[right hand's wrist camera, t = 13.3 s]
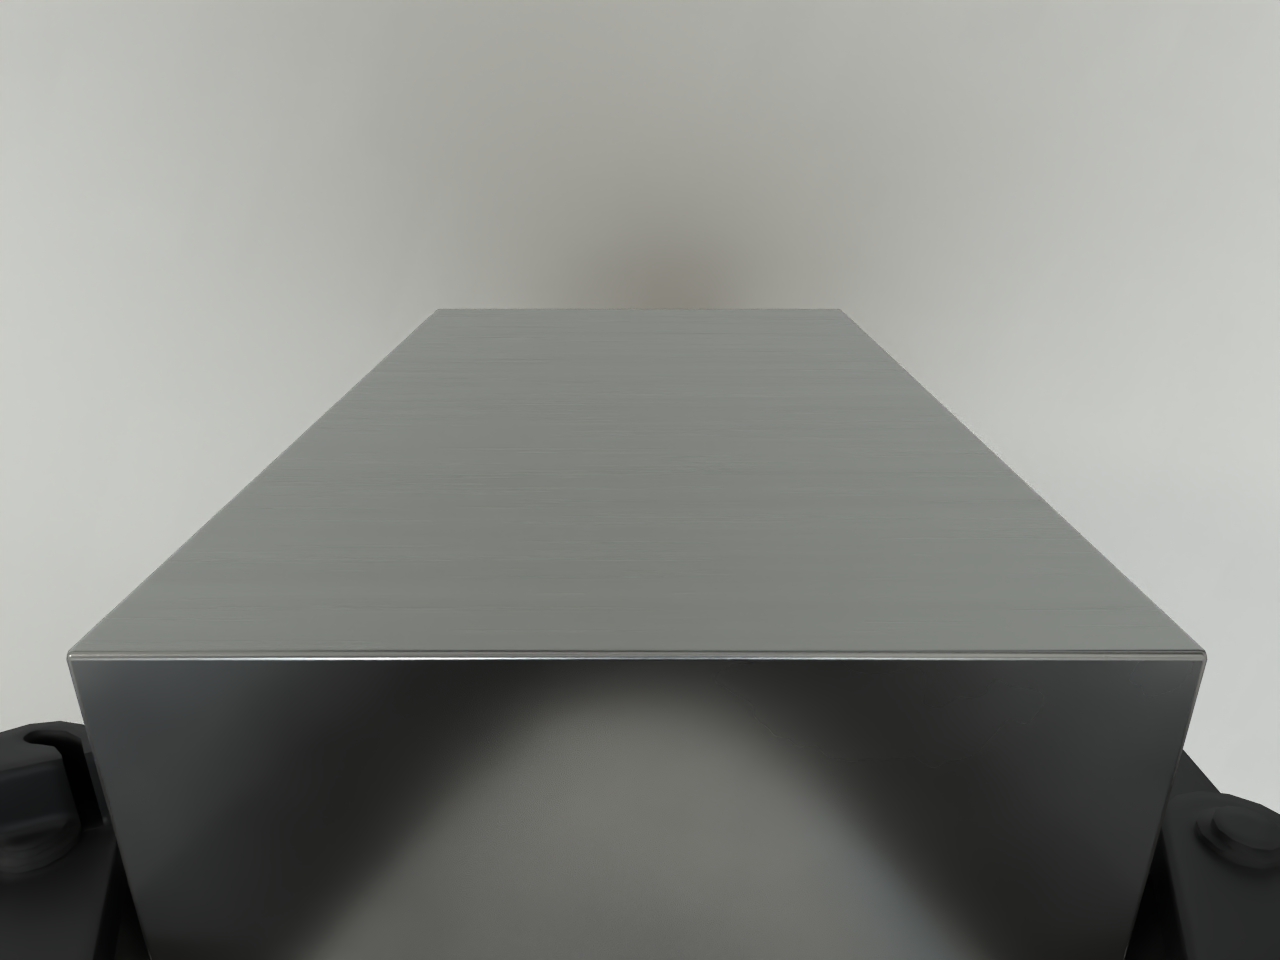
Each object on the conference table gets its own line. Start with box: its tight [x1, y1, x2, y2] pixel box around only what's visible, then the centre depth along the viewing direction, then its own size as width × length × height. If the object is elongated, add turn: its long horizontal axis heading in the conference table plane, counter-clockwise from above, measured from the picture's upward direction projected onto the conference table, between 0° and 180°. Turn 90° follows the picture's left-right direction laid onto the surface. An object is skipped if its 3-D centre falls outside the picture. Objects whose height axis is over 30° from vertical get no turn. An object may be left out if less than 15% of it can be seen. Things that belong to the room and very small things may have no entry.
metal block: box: [67, 309, 1207, 960], centre depth 12 cm, size 7×7×11 cm
